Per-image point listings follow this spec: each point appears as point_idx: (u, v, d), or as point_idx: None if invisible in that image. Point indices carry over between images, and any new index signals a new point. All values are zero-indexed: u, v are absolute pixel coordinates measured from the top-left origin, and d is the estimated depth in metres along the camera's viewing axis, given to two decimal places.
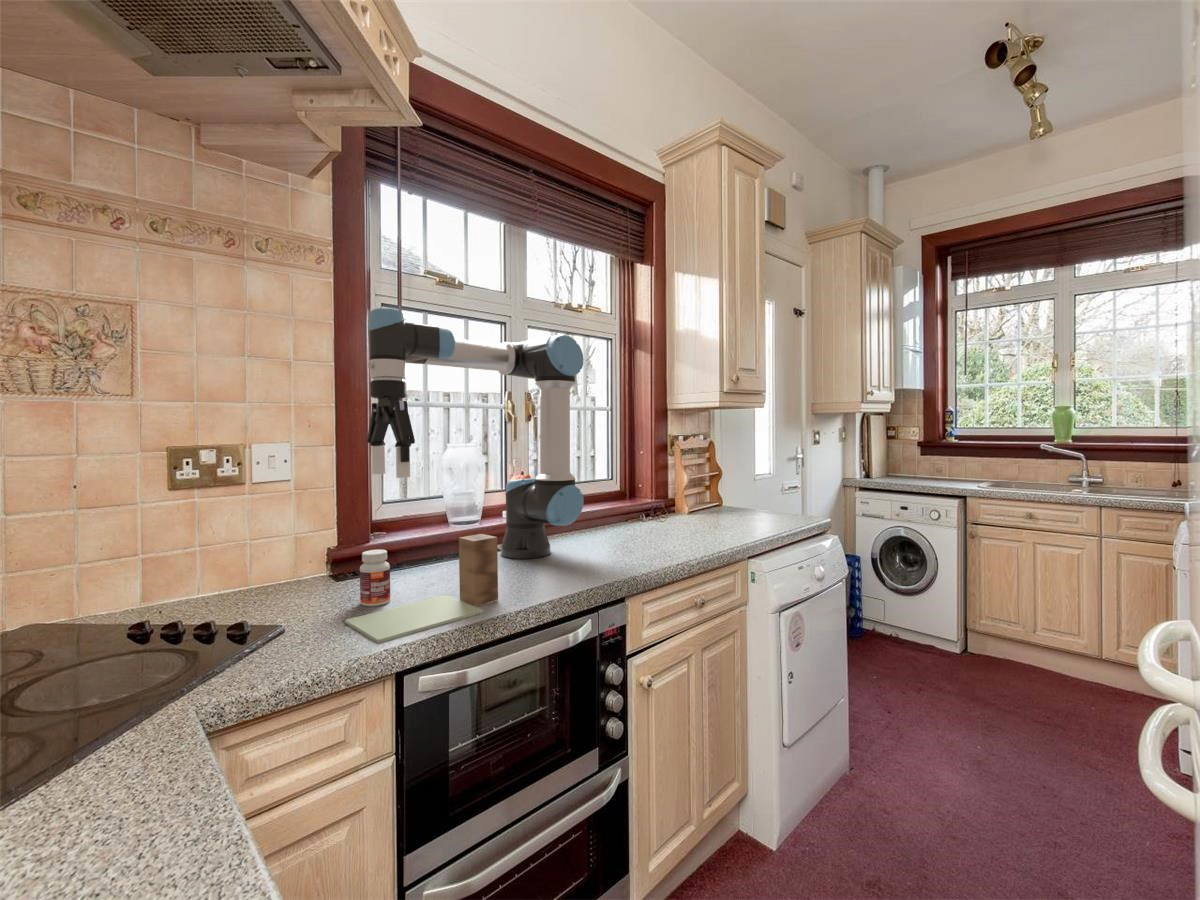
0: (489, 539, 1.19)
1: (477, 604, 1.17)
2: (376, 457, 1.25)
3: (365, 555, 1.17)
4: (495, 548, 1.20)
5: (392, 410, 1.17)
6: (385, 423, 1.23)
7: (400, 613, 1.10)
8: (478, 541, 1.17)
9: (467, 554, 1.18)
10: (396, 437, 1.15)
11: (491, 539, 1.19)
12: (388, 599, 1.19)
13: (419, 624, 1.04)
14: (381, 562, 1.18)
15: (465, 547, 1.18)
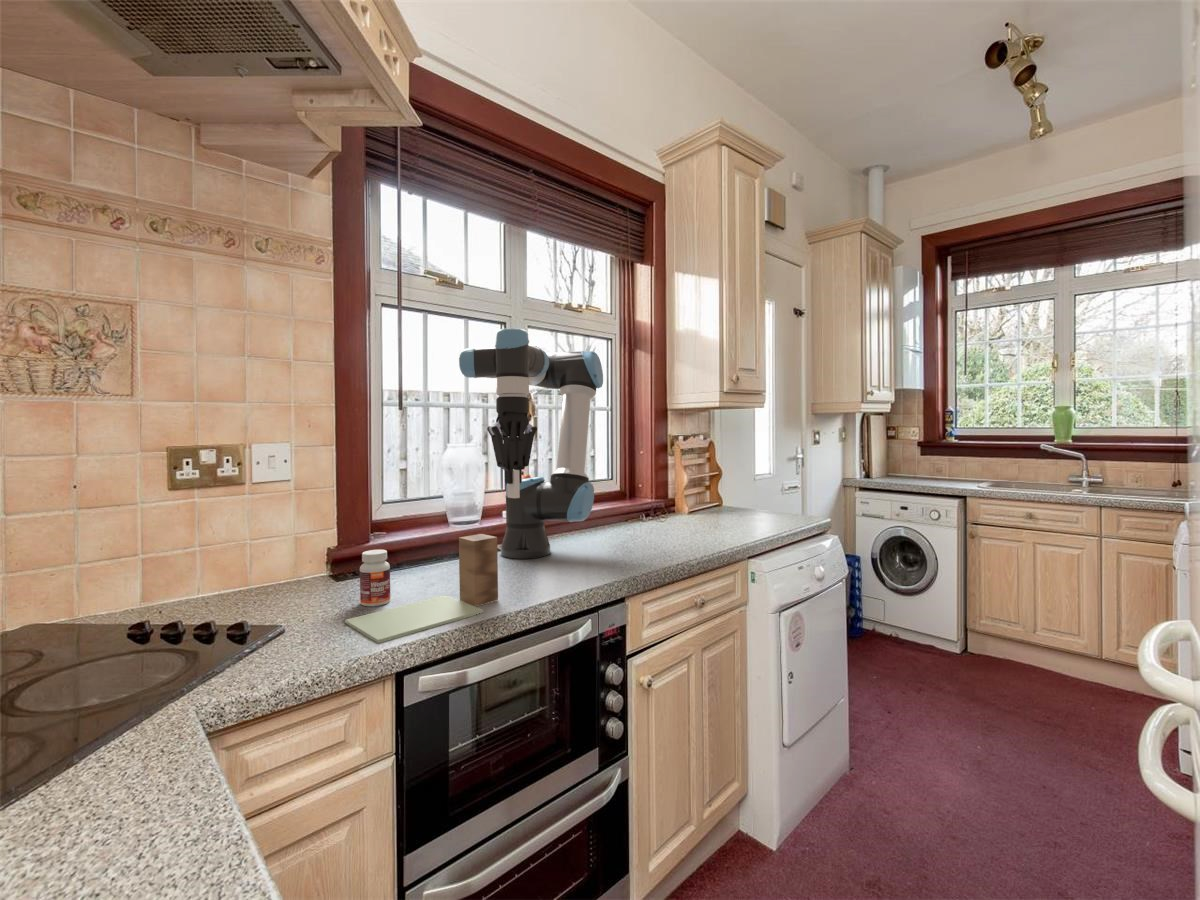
0: (489, 539, 1.19)
1: (477, 604, 1.17)
2: None
3: (365, 555, 1.17)
4: (495, 548, 1.20)
5: None
6: (516, 439, 1.26)
7: (400, 613, 1.10)
8: (478, 541, 1.17)
9: (467, 554, 1.18)
10: None
11: (491, 539, 1.19)
12: (388, 599, 1.19)
13: (419, 624, 1.04)
14: (381, 562, 1.18)
15: (465, 547, 1.18)
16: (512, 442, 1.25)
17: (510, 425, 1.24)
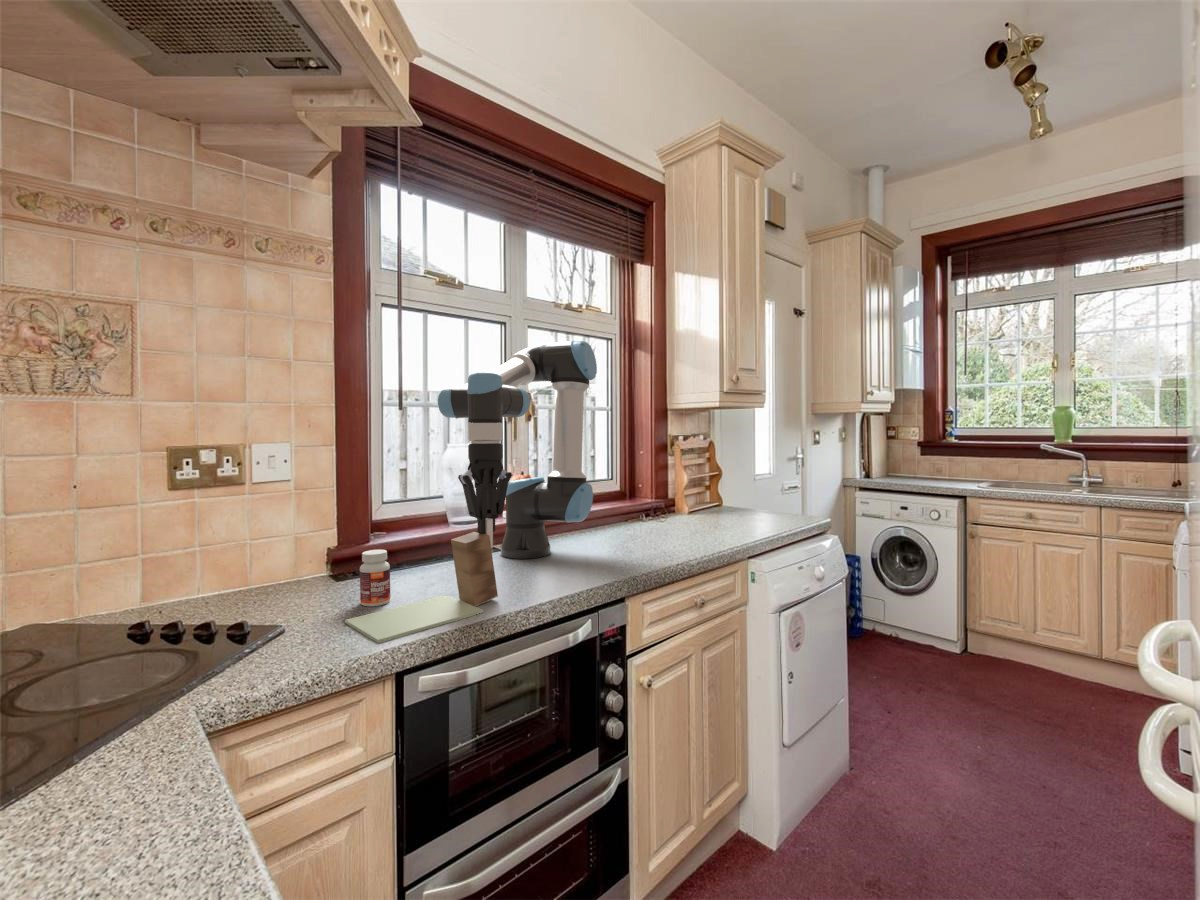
0: (481, 538, 1.17)
1: (477, 604, 1.17)
2: None
3: (365, 555, 1.17)
4: (488, 547, 1.18)
5: None
6: (489, 487, 1.21)
7: (400, 613, 1.10)
8: (470, 542, 1.15)
9: (461, 556, 1.17)
10: None
11: (483, 538, 1.17)
12: (388, 599, 1.19)
13: (419, 624, 1.04)
14: (381, 562, 1.18)
15: (458, 549, 1.17)
16: (485, 490, 1.20)
17: (482, 473, 1.19)
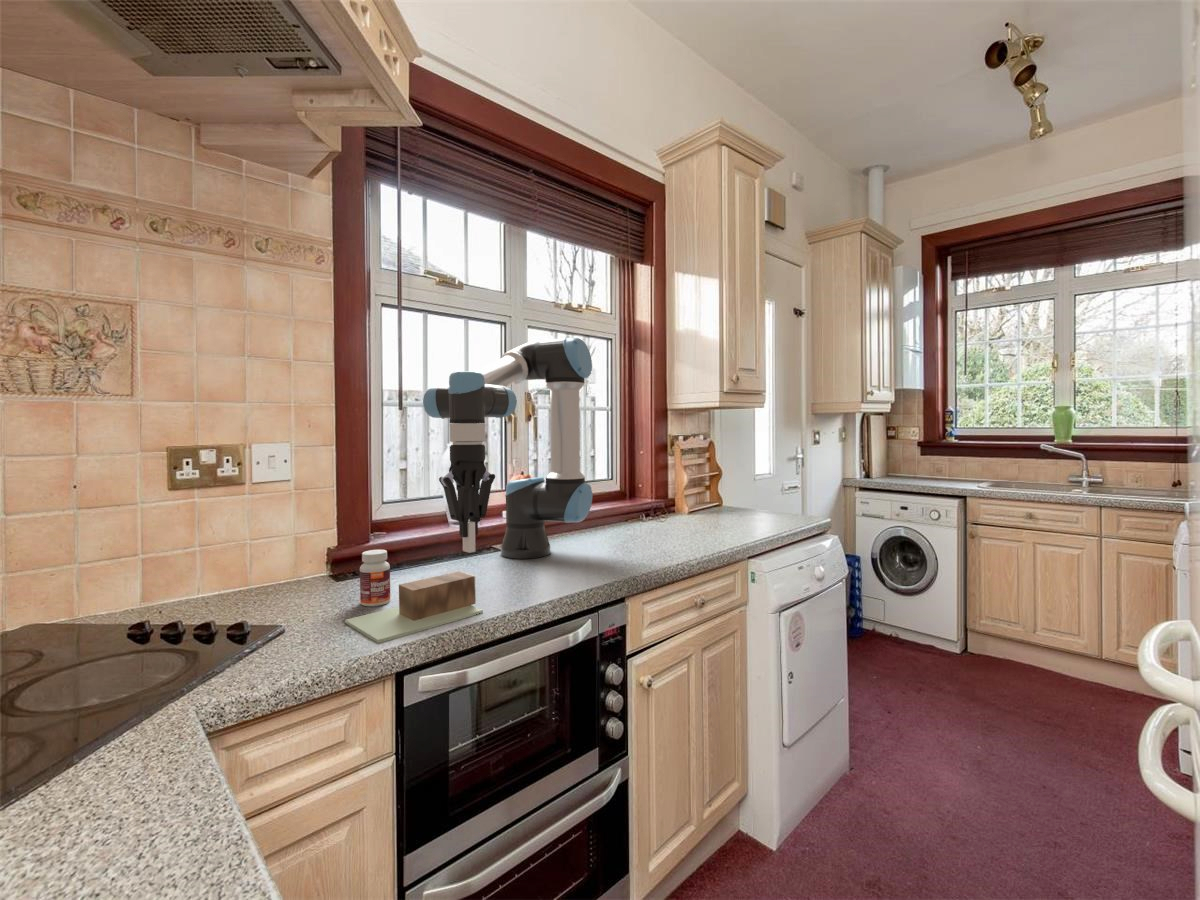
0: (414, 600, 1.06)
1: (474, 601, 1.16)
2: None
3: (365, 555, 1.17)
4: (424, 590, 1.08)
5: None
6: (471, 489, 1.18)
7: None
8: (414, 614, 1.06)
9: None
10: None
11: (414, 597, 1.06)
12: (388, 599, 1.19)
13: (419, 624, 1.04)
14: (381, 562, 1.18)
15: None
16: (467, 493, 1.16)
17: (464, 475, 1.15)
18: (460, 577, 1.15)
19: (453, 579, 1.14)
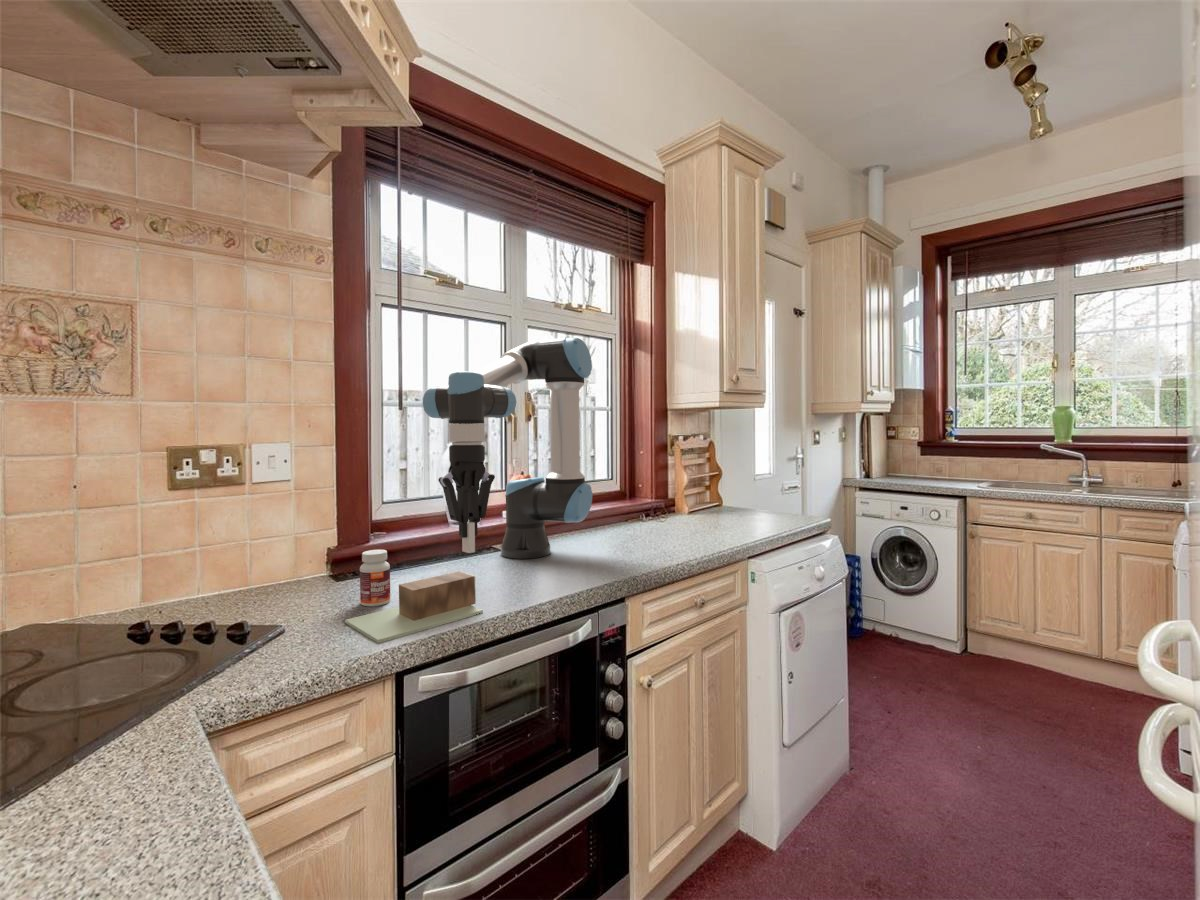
0: (414, 600, 1.06)
1: (474, 601, 1.16)
2: None
3: (365, 555, 1.17)
4: (424, 590, 1.08)
5: None
6: (471, 489, 1.18)
7: None
8: (414, 614, 1.06)
9: None
10: None
11: (414, 597, 1.06)
12: (388, 599, 1.19)
13: (419, 624, 1.04)
14: (381, 562, 1.18)
15: None
16: (466, 493, 1.16)
17: (463, 476, 1.15)
18: (460, 577, 1.15)
19: (453, 579, 1.14)
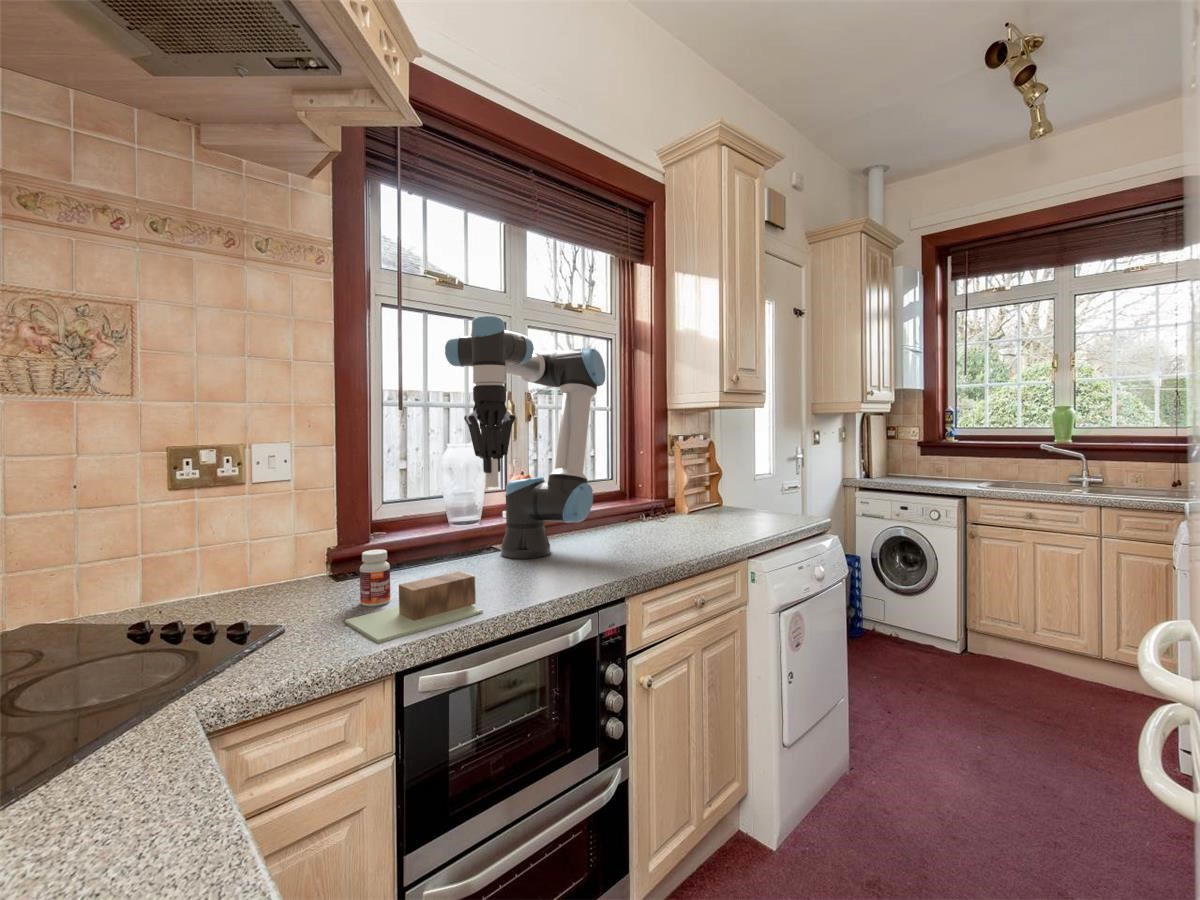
0: (414, 600, 1.06)
1: (474, 601, 1.16)
2: None
3: (365, 555, 1.17)
4: (424, 590, 1.08)
5: None
6: (494, 428, 1.26)
7: None
8: (414, 614, 1.06)
9: None
10: None
11: (414, 597, 1.06)
12: (388, 599, 1.19)
13: (419, 624, 1.04)
14: (381, 562, 1.18)
15: None
16: (490, 431, 1.24)
17: (487, 414, 1.23)
18: (460, 577, 1.15)
19: (453, 579, 1.14)
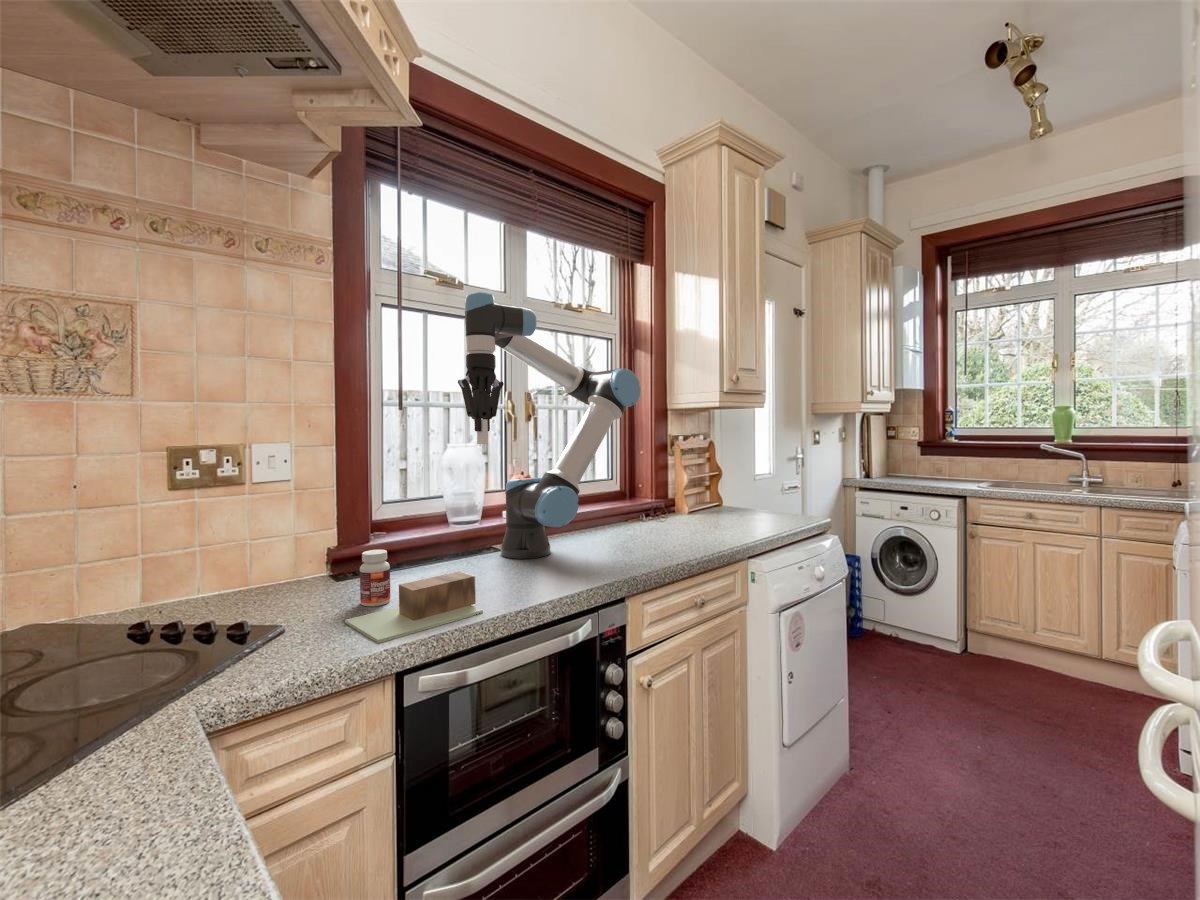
0: (414, 600, 1.06)
1: (474, 601, 1.16)
2: None
3: (365, 555, 1.17)
4: (424, 590, 1.08)
5: None
6: (484, 392, 1.42)
7: None
8: (414, 614, 1.06)
9: None
10: None
11: (414, 597, 1.06)
12: (388, 599, 1.19)
13: (419, 624, 1.04)
14: (381, 562, 1.18)
15: None
16: (480, 394, 1.40)
17: (478, 379, 1.39)
18: (460, 577, 1.15)
19: (453, 579, 1.14)
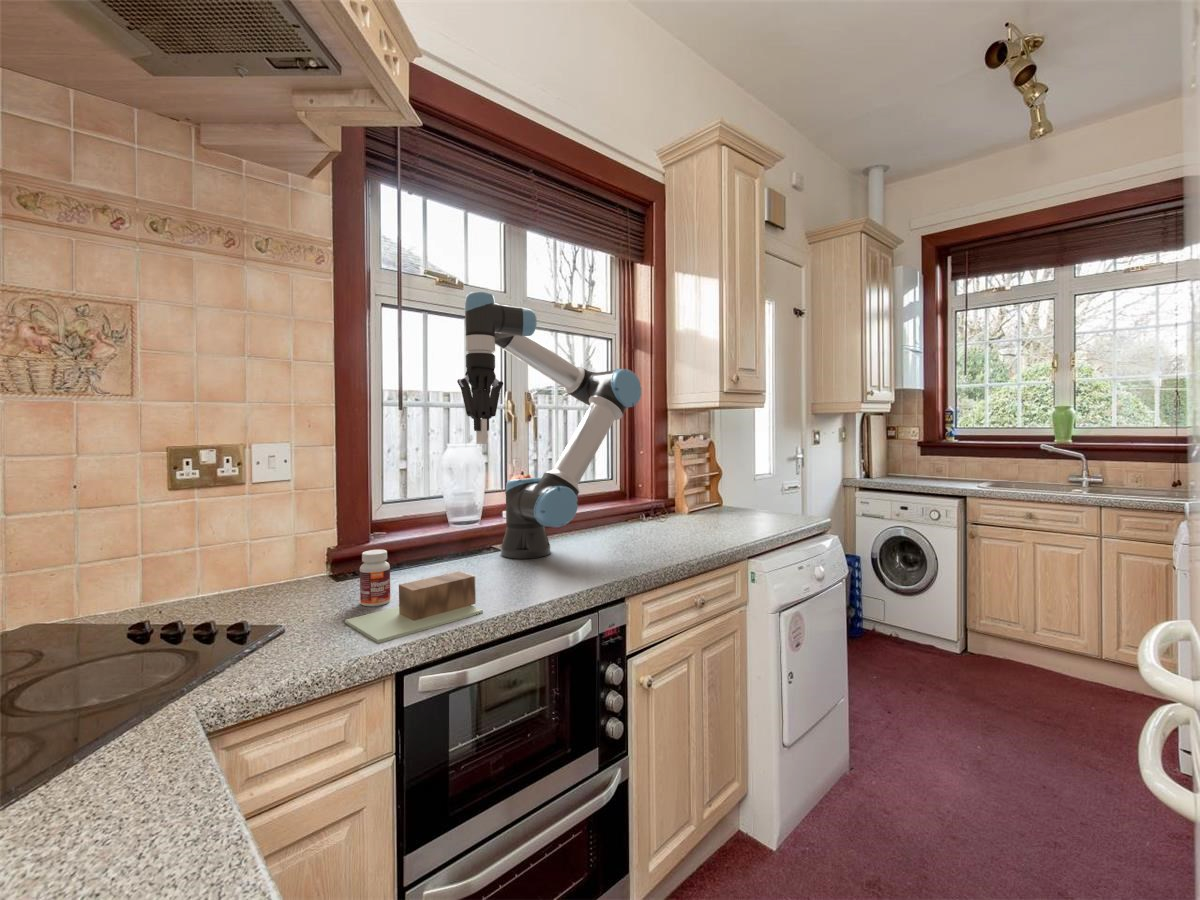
0: (414, 600, 1.06)
1: (474, 601, 1.16)
2: None
3: (365, 555, 1.17)
4: (424, 590, 1.08)
5: None
6: (484, 392, 1.42)
7: None
8: (414, 614, 1.06)
9: None
10: None
11: (414, 597, 1.06)
12: (388, 599, 1.19)
13: (419, 624, 1.04)
14: (381, 562, 1.18)
15: None
16: (480, 394, 1.40)
17: (477, 379, 1.40)
18: (460, 577, 1.15)
19: (453, 579, 1.14)
